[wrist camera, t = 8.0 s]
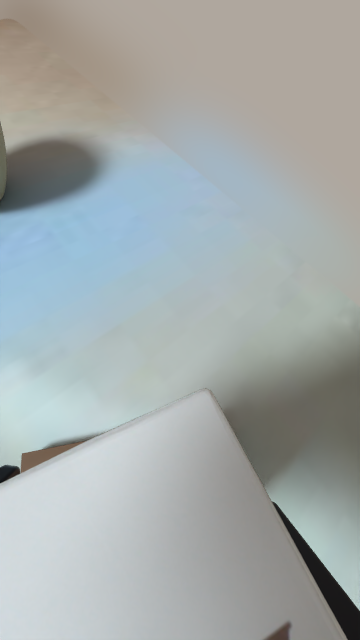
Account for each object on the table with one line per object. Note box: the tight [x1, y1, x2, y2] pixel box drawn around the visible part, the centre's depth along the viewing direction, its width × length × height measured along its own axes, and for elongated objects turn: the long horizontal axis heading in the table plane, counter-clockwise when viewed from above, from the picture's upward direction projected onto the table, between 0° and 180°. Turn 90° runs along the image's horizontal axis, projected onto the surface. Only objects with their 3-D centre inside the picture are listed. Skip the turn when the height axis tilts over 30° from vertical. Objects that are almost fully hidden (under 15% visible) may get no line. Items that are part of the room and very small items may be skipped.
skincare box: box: [0, 388, 347, 640], centre depth 8 cm, size 6×4×12 cm
